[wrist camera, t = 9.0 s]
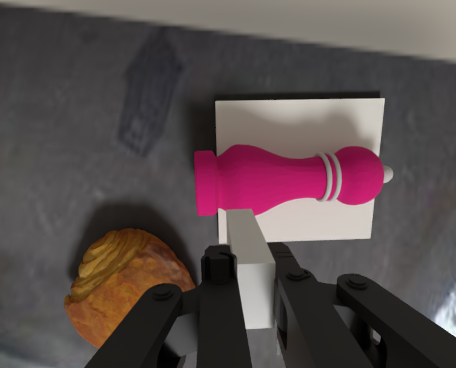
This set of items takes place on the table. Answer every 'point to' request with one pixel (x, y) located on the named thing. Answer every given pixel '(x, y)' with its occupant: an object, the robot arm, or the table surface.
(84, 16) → the table surface
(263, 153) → the pepper mill
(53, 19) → the table surface
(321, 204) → the white mat
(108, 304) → the croissant
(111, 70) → the table surface
